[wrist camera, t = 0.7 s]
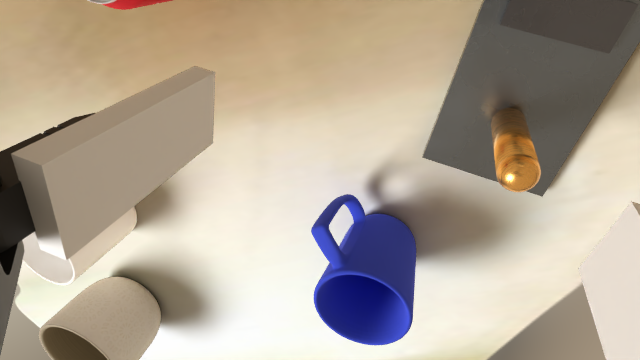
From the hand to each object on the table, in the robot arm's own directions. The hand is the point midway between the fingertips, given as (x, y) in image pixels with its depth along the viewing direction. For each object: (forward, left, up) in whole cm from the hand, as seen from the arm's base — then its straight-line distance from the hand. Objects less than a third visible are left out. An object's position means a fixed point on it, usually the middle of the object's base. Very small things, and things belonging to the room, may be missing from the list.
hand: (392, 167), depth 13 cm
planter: (+47, -30, -21) cm, 60 cm away
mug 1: (+28, -32, -21) cm, 48 cm away
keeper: (+1, +7, -21) cm, 22 cm away
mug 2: (+18, 0, -21) cm, 28 cm away
